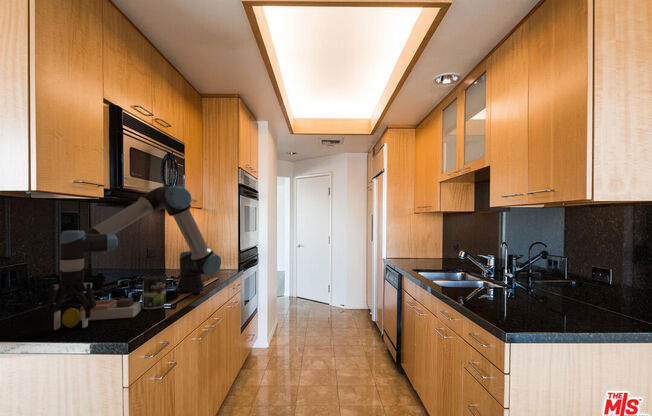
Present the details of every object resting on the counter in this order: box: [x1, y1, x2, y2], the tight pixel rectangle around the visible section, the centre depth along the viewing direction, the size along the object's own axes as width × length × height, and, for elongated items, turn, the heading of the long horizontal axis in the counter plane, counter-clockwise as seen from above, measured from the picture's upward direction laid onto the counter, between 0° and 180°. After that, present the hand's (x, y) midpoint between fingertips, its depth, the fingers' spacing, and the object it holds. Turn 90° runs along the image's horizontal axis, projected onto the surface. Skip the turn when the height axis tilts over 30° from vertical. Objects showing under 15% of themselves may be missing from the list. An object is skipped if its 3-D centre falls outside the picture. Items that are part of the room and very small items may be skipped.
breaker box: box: [79, 299, 142, 322], centre depth 140 cm, size 20×10×6 cm, turn 103°
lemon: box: [61, 307, 80, 329], centre depth 125 cm, size 6×6×8 cm
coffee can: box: [141, 274, 167, 310], centre depth 154 cm, size 10×10×14 cm
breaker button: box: [116, 297, 134, 308], centre depth 141 cm, size 5×5×6 cm
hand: (71, 327), depth 125 cm, fingers open, 9 cm apart
